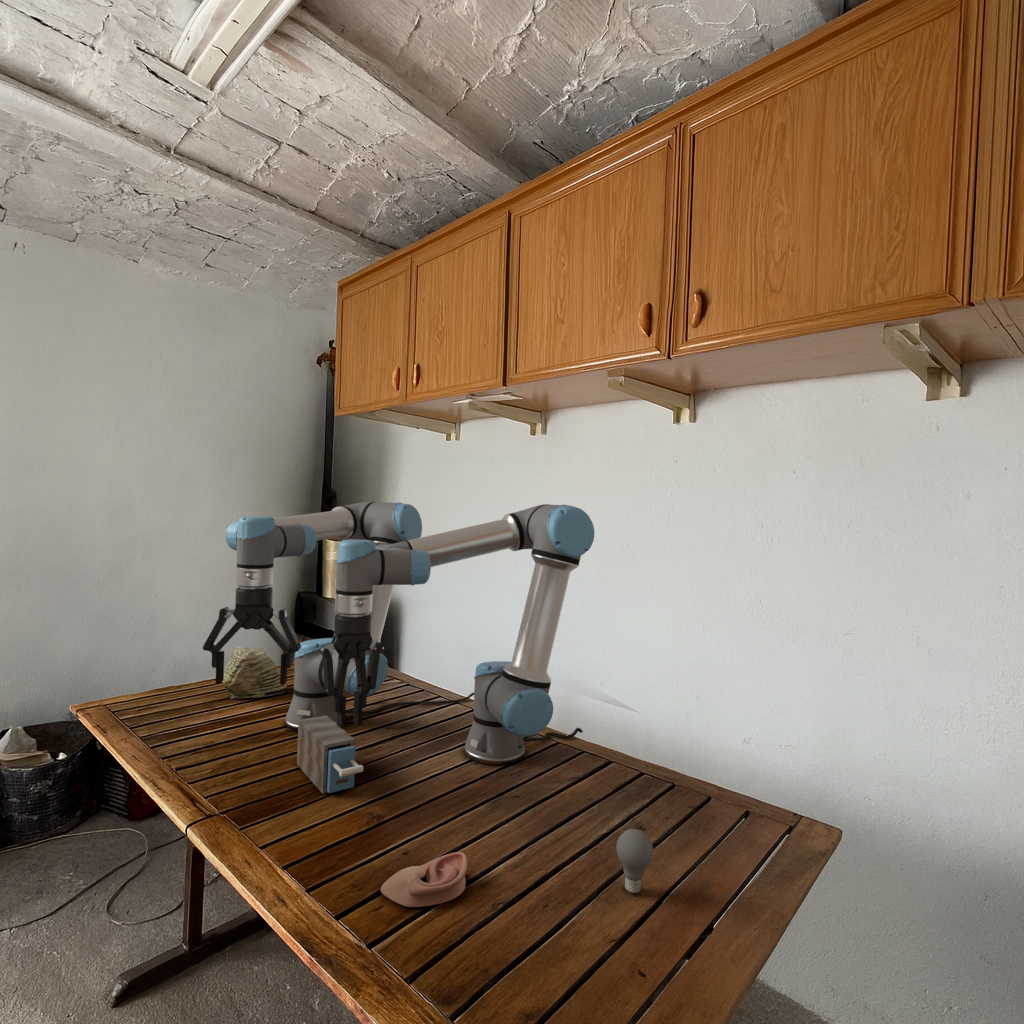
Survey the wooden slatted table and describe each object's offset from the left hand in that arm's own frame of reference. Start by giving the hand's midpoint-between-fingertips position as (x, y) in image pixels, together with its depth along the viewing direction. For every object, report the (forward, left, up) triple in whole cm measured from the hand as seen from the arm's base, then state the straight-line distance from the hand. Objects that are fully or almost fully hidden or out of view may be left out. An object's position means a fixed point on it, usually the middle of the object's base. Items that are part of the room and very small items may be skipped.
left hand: (251, 682), depth 140 cm
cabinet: (-13, +10, -22) cm, 27 cm away
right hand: (-9, +23, -6) cm, 25 cm away
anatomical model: (0, +57, -22) cm, 61 cm away
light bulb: (-22, +83, -22) cm, 88 cm away
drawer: (-12, +15, -21) cm, 28 cm away
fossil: (-31, -54, -22) cm, 66 cm away
